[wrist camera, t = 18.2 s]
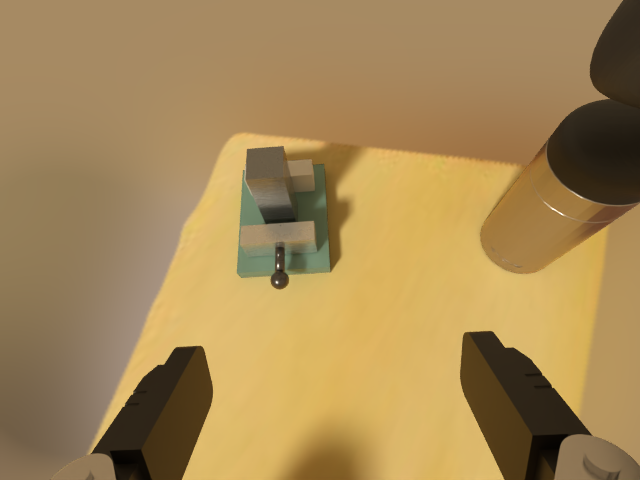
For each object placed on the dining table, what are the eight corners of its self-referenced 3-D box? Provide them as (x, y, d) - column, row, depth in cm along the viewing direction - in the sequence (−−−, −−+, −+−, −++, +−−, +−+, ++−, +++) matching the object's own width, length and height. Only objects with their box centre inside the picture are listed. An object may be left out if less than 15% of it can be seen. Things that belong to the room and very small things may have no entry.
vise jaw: (318, 291, 43) (316, 281, 40) (246, 295, 44) (237, 286, 40) (316, 234, 46) (313, 220, 43) (249, 239, 47) (241, 226, 43)
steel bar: (269, 204, 49) (247, 149, 38) (297, 202, 49) (283, 146, 38) (268, 230, 48) (245, 179, 37) (298, 228, 47) (283, 177, 36)
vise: (330, 272, 47) (328, 255, 41) (241, 277, 47) (227, 261, 42) (324, 172, 53) (322, 146, 48) (246, 178, 54) (235, 153, 48)
